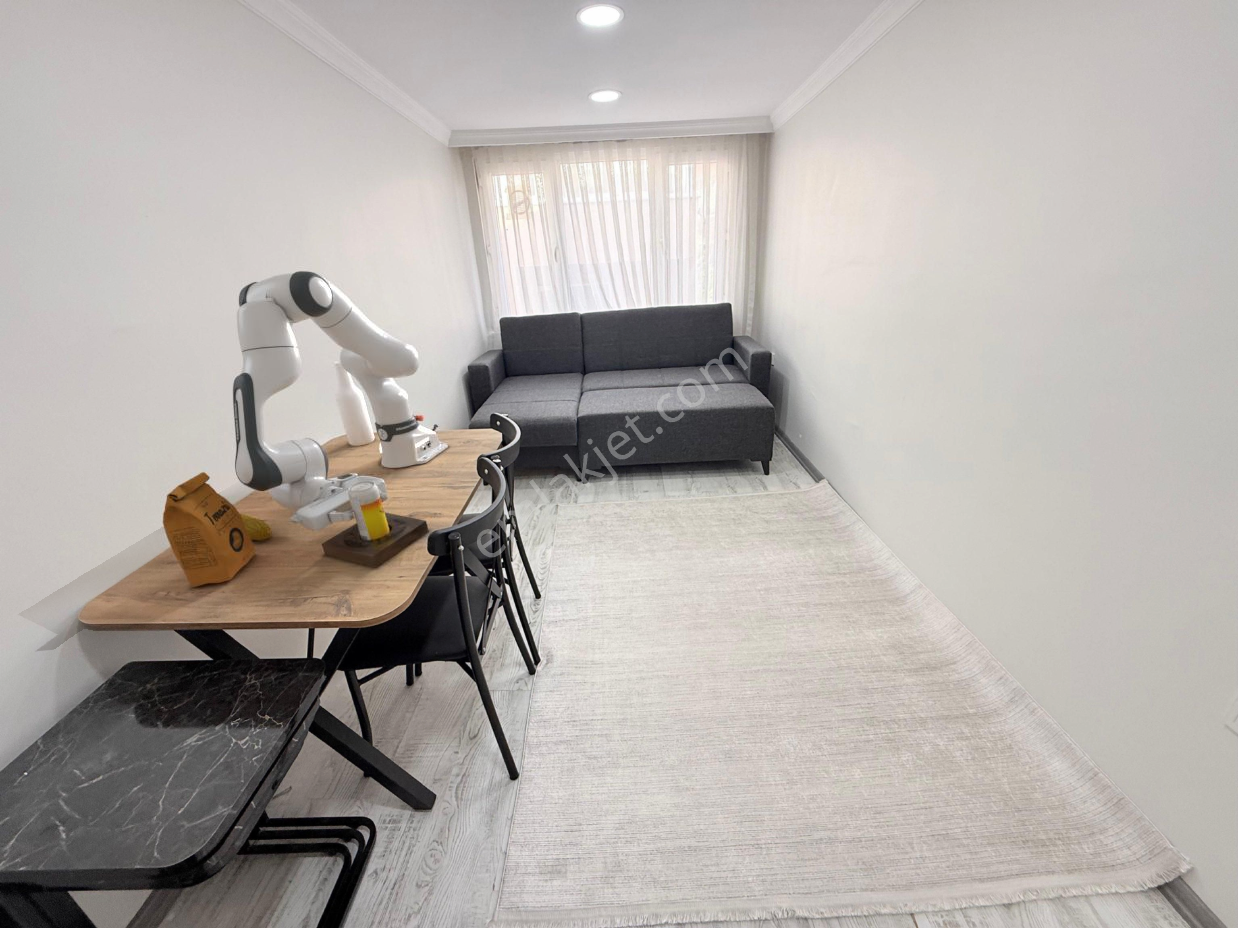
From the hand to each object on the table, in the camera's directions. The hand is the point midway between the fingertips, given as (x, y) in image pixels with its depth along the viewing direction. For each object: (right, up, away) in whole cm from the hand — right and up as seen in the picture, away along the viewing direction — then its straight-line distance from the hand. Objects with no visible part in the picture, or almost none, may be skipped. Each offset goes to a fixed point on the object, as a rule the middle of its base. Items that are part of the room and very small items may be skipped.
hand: (368, 506), depth 113 cm
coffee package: (-29, -14, -4) cm, 33 cm away
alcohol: (-38, +18, +71) cm, 82 cm away
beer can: (+1, -9, +4) cm, 10 cm away
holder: (+1, -9, +4) cm, 10 cm away
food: (-37, -8, +11) cm, 39 cm away
